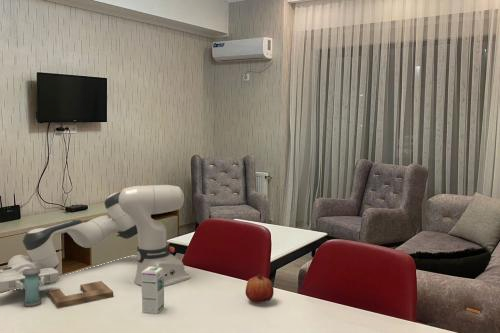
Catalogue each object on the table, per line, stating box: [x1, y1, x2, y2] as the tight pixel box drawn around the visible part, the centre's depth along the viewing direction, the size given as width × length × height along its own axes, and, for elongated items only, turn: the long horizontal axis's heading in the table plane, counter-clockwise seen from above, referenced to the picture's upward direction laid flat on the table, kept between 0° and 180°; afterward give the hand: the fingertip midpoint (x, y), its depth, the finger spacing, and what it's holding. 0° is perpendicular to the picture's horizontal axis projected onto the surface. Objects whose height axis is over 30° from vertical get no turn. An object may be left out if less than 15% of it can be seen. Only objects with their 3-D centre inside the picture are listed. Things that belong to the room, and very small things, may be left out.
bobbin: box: [23, 268, 42, 308], centre depth 164 cm, size 6×6×12 cm
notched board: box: [47, 280, 114, 309], centre depth 172 cm, size 20×14×2 cm
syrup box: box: [141, 267, 165, 315], centre depth 160 cm, size 6×6×14 cm
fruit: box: [245, 273, 274, 304], centre depth 169 cm, size 11×10×10 cm
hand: (32, 285), depth 163 cm, fingers closed on bobbin, 4 cm apart
